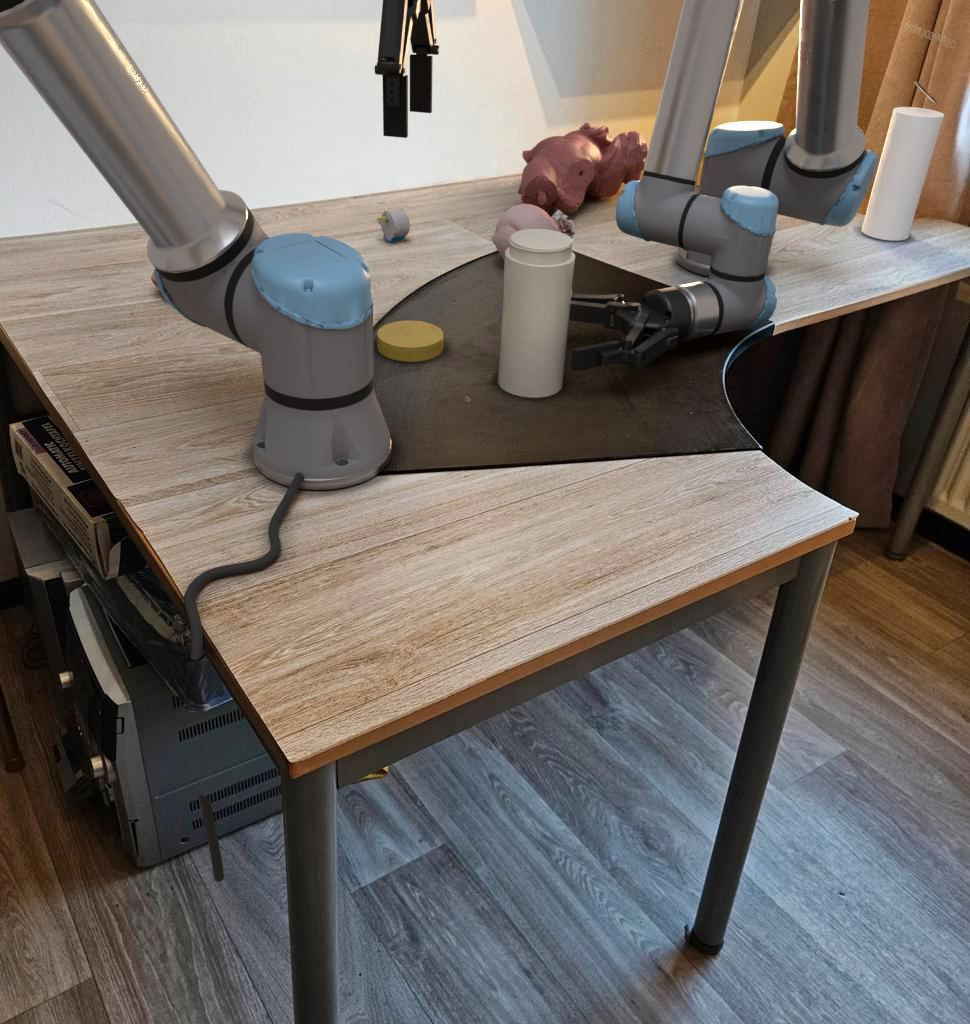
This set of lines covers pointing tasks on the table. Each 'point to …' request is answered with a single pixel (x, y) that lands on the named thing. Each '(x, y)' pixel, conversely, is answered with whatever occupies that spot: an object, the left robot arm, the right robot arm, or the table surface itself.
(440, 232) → the table surface
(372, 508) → the table surface
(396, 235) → the electric motor
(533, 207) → the toy
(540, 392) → the jar
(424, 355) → the lid
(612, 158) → the reddish pink figurine
